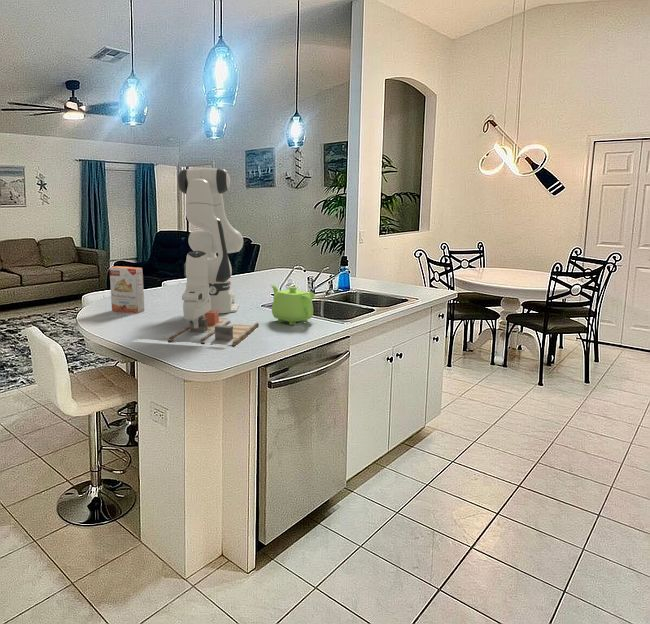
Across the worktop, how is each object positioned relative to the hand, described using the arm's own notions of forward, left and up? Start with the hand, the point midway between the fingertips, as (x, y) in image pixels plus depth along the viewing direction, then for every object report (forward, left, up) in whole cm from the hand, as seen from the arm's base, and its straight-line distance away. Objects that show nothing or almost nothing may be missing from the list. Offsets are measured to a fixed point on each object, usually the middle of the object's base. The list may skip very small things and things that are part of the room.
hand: (198, 326), depth 219 cm
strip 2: (-1, +14, -3) cm, 14 cm away
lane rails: (-1, +7, -3) cm, 8 cm away
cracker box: (-33, -48, -3) cm, 58 cm away
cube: (-14, 0, -2) cm, 14 cm away
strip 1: (-11, 0, -3) cm, 11 cm away
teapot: (-34, +32, -3) cm, 47 cm away
